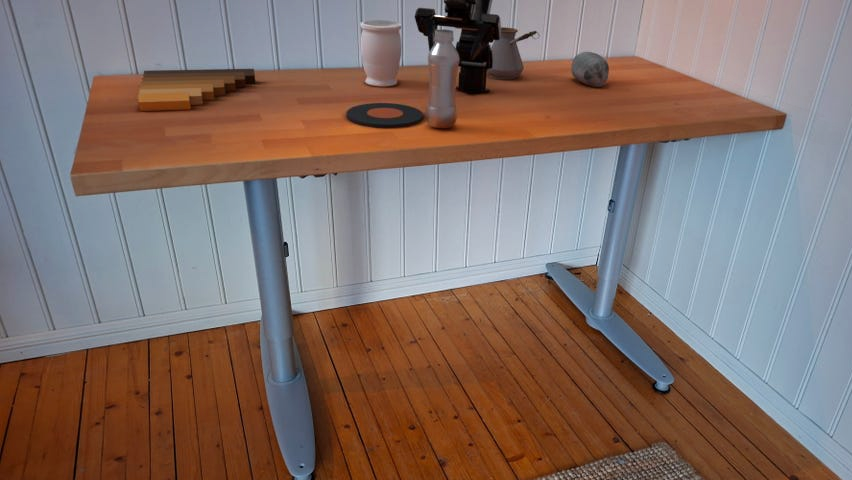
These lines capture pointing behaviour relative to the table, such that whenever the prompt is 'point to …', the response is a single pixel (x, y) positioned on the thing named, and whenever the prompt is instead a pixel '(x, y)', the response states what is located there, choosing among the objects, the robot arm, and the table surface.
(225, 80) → the pan flute
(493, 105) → the table surface
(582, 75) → the grey river stone
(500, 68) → the coffee pot
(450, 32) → the plastic bottle
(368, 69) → the jar
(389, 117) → the ring
